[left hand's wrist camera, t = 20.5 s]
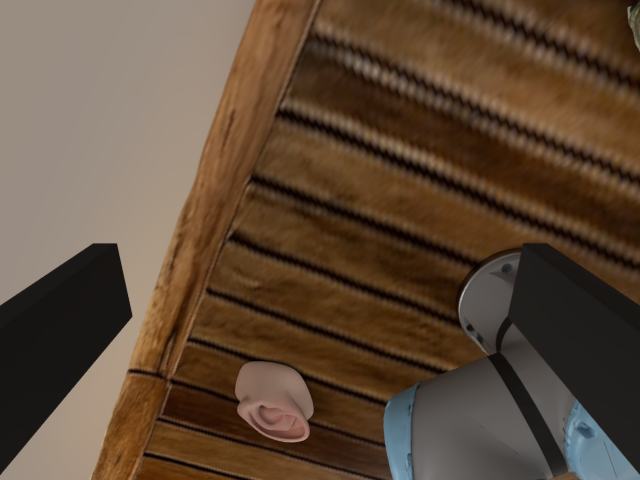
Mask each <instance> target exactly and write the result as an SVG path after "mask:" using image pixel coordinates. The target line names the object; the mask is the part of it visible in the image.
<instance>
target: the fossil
mask: <svg viewBox="0 0 640 480" xmlns="http://www.w3.org/2000/svg"><path fill="white" fill-rule="evenodd" d="M628 20H629V25H630V27H631V28H632V31H633V34H634V38H635V43H636V46H637V47H638V49H639V51H640V0H639V1H638V2H637V3H636V4H635V5H632V6H630V7H628Z"/></svg>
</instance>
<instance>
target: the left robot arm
mask: <svg viewBox="0 0 640 480" xmlns="http://www.w3.org/2000/svg"><path fill="white" fill-rule="evenodd" d="M456 314H457V317H458V320H459V322H460V324H461V326H462V328H463V329H464V331H465V332H466V334H467V335H468V336H469V337H470V338H471V339H472V340H473V341H474V342H475V343H476V344H477V345H478V346H479V347H480V348H481V349H482V351H484V352H485V353H487V351H488V352H489V353H490V354H492V355H489V354H488V353H487V354H488V355H489V356H487V357H484V358H481V359H479V360H476V361H474V362H472V363H469V364H467V365H464V366H462V367H459V368H457V369H454V370H452V371H449V372H446V373H444V374H441V375H439V376H436V377H433V378H431V379H428V380H426V381H419V382H417V383H416V384H415V385H414V386H413V387H411V388H409V389H406V390H404V391H402V392H400V393H398V394H396V395H394V396H393V397H392V398H391V399H390V400H389V401H388V403H387V406H386V409H385V414H384V436H385V444H386V450H387V456H388V460H389V465H390V469H391V473H392V477H393V480H548V479H550V478H553V477H556V476H559V475H562V474H565V473H568V472H571V471H573V473H574V475H576V476H577V477H578V478H579V479H581V480H640V305H638V304H637V303H635V302H634V301H632V300H631V299H629V298H628V297H626V296H625V295H623V294H622V293H620V292H619V291H617V290H616V289H614V288H613V287H611V286H610V285H608V284H607V283H605V282H604V281H602V280H601V279H599V278H598V277H596V276H595V275H593V274H592V273H590V272H589V271H587V270H586V269H584V268H583V267H581V266H580V265H578V264H577V263H575V262H574V261H572V260H571V259H569V258H568V257H566V256H565V255H563V254H562V253H560V252H559V251H557V250H556V249H554V248H553V247H551V246H550V245H548V244H547V243H523V246H522V249H512V250H507V251H503V252H500V253H497V254H495V255H493V256H490V257H489V258H487V259H485V260H484V261H482V262H481V263H479V264H478V265H477V266H476V267H475V268H473V269H472V270H471V271H470V273H469V274H468V275H467V276H466V278H465V279H464V281H463V282H462V284H461V286H460V288H459V291H458V294H457V298H456ZM131 318H132V311H131V307H130V302H129V297H128V293H127V288H126V283H125V279H124V274H123V270H122V265H121V260H120V256H119V251H118V246H117V244H116V243H94V244H92V245H90V246H89V247H87V248H86V249H84V250H83V251H81V252H80V253H78V254H77V255H75V256H74V257H72V258H71V259H69V260H68V261H66V262H65V263H63V264H62V265H60V266H59V267H57V268H56V269H54V270H53V271H51V272H50V273H48V274H47V275H45V276H44V277H42V278H41V279H39V280H38V281H36V282H35V283H33V284H32V285H30V286H29V287H27V288H26V289H24V290H23V291H21V292H20V293H18V294H17V295H15V296H14V297H12V298H11V299H9V300H8V301H6V302H5V303H3V304H2V305H0V475H1V474H2V472H3V471H4V470H5V469H6V468H7V466H8V465H9V464H10V463H11V461H12V460H13V459H14V458H15V457H16V456H17V454H18V453H19V452H20V451H21V450H22V448H23V447H24V446H25V445H26V444H27V442H28V441H29V440H30V439H31V437H32V436H33V435H34V434H35V433H36V432H37V430H38V429H39V428H40V427H41V425H42V424H43V423H44V422H45V421H46V420H47V418H48V417H49V416H50V415H51V414H52V412H53V411H54V410H55V409H56V408H57V406H58V405H59V404H60V403H61V402H62V400H63V399H64V398H65V397H66V396H67V394H68V393H69V392H70V391H71V390H72V388H73V387H74V386H75V385H76V384H77V382H78V381H79V380H80V379H81V378H82V376H83V375H84V374H85V373H86V372H87V370H88V369H89V368H90V367H91V366H92V364H93V363H94V362H95V361H96V360H97V358H98V357H99V356H100V355H101V354H102V352H103V351H104V350H105V349H106V348H107V346H108V345H109V344H110V343H111V342H112V340H113V339H114V338H115V337H116V336H117V334H118V333H119V332H120V331H121V330H122V328H123V327H124V326H125V325H126V324H127V322H128V321H129V320H130V319H131Z"/></svg>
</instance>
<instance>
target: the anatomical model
mask: <svg viewBox="0 0 640 480" xmlns="http://www.w3.org/2000/svg"><path fill="white" fill-rule="evenodd" d="M235 393H236V396H237V398H238V399H239V400H240V401H241V402H240V404H239V405H238V409H237V410H238V413H239V415H240V416H241V417H242V418H243V419H245V420H246V421H247V422H248V423H249V424H250V425H251V426H253V427H254V428H255V429H256V430H257V431H259V432H260V433H262V434H263V435H265V436H267V437H269V438H272V439H275V440H279V441H284V442H298V441H302V440H305V439H306V438H307V437H308V435H309V425H308V422H307V420H308V419H309V418H310V417H311V416H312V414H313V411H314V408H313V402H312V399H311V396H310V393H309V391H308V388H307V386H306V384H305V382H304V380H303V379H302V377H301V376H300V374H299V373H298V372H297V371H296V370H294V369H292V368H291V367H288V366H286V365H282V364H278V363H273V362H264V361H252V362H248V363H246V364H244V365H243V366H242V368H241V370H240V372H239V375H238V378H237V381H236V389H235Z"/></svg>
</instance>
